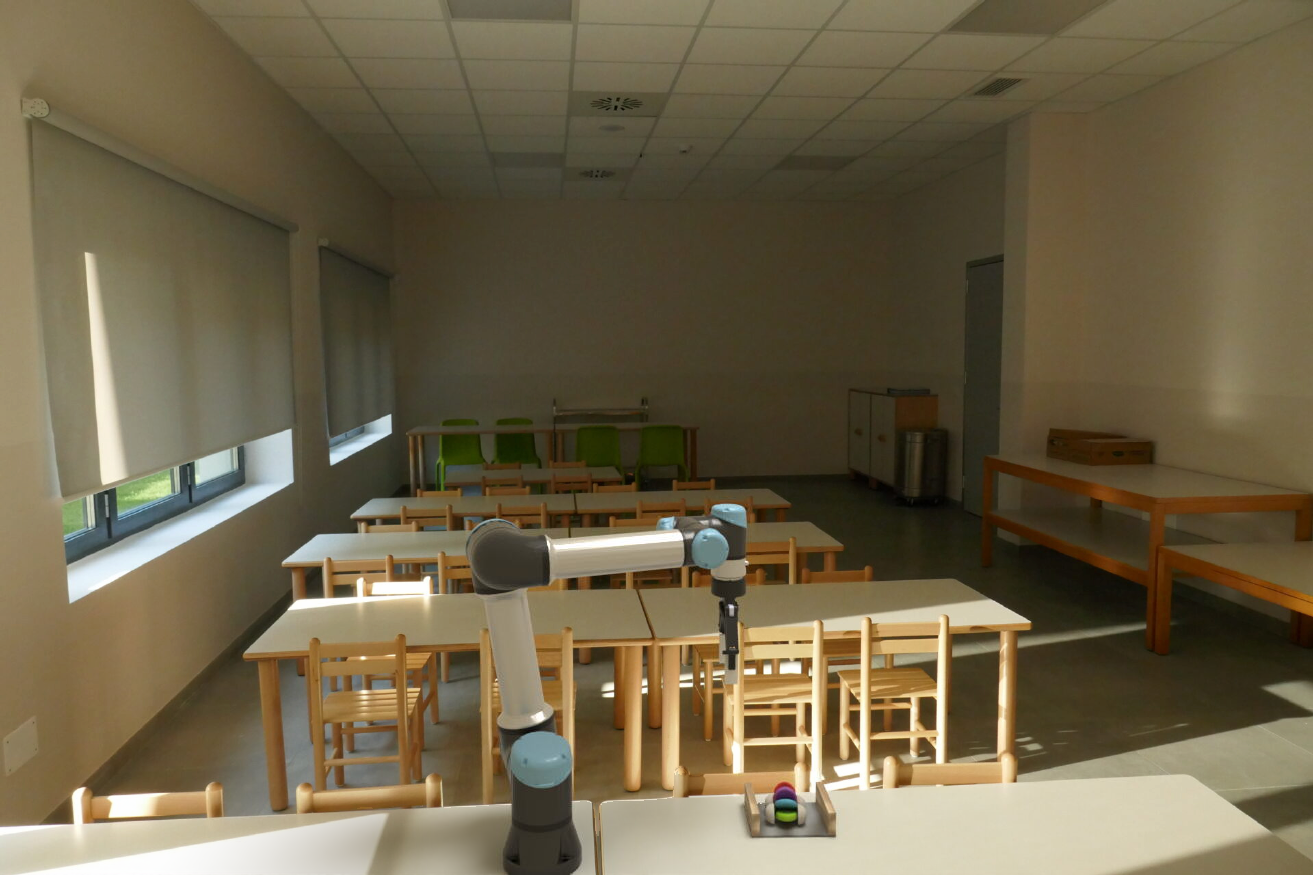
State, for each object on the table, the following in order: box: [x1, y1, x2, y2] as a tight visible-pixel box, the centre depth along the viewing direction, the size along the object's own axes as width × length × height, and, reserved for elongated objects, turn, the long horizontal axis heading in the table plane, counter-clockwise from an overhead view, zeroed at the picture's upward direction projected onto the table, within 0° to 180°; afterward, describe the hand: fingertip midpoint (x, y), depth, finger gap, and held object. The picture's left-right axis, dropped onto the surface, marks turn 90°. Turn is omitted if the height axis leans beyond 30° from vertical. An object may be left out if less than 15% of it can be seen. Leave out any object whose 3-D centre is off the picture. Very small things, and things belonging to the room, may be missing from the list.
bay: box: [743, 781, 837, 838], centre depth 196 cm, size 17×14×5 cm
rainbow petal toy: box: [764, 781, 807, 825], centre depth 196 cm, size 8×10×7 cm
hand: (728, 672), depth 203 cm, fingers open, 13 cm apart
